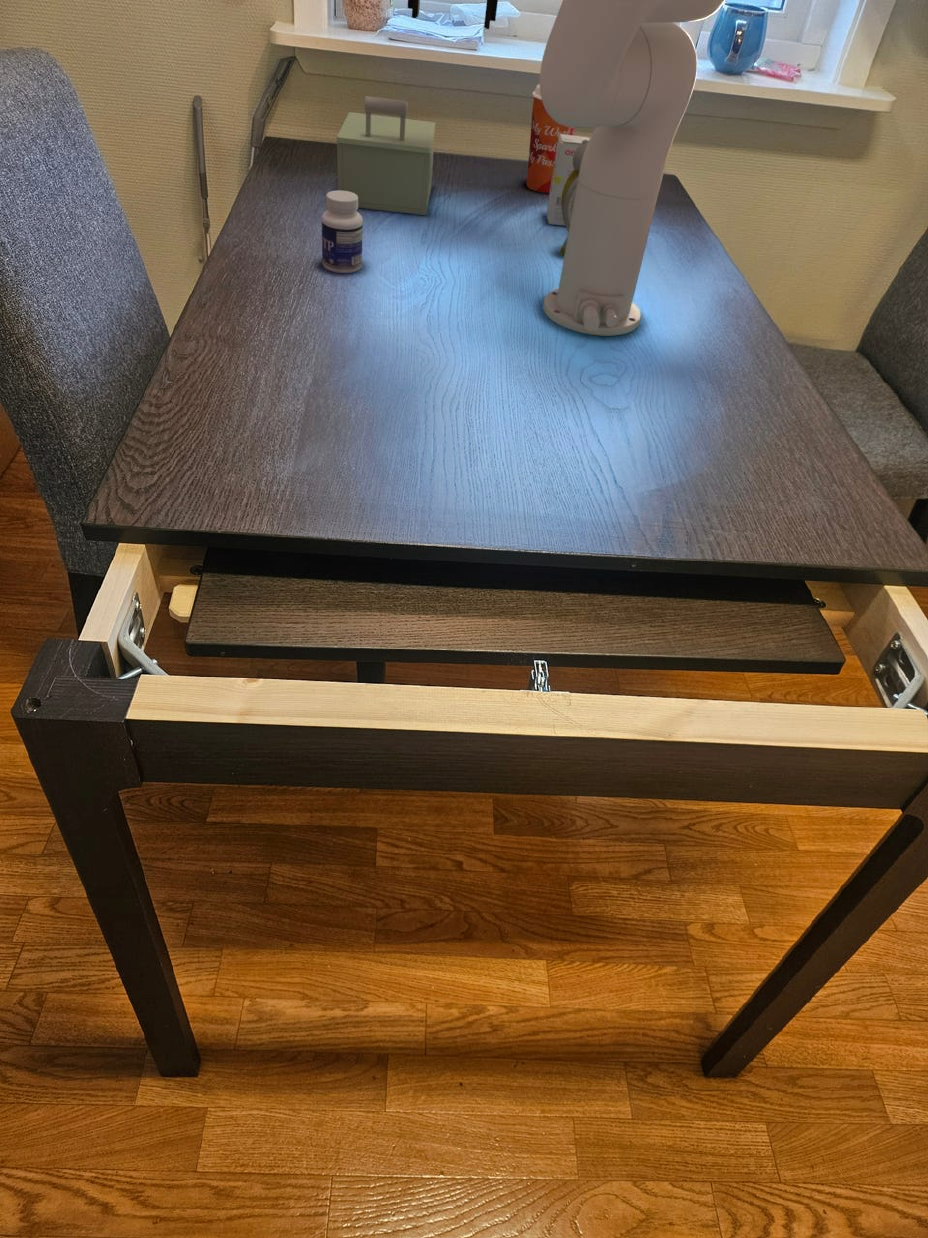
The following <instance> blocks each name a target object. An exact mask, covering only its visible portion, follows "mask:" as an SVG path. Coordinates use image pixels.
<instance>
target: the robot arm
mask: <svg viewBox="0 0 928 1238" xmlns="http://www.w3.org/2000/svg"><path fill="white" fill-rule="evenodd" d="M725 2H726V0H562V2H561V4H560V7H559V9H558V12H557V15H556V17H555V20H554V22H553V25H552V28H551V31H550V33H549V36H548V38H547V42H546V45H545V48H544V51H543V55H542V60H541V64H540V72H539V83H540V93H541V99H542V102H543V105H544V108H545V110H546V112H547V113H548V114H549V116H550V117H551V118H552V119H553V120H554V121H556V122H557V123H559V124H561V125H563V126H566V127H571V128H575V129H588V128H589V129H590V128H594V131H593V132H592V134H591V136H590V137H589V138H590V140H589V142H588V144H587V147H586V149H585V152H584V155H583V158H582V162H581V166H580V171H579V176H578V182H577V188H576V193H575V199H574V205H573V210H572V216H571V221H570V227H569V232H568V234H567V237H568V238H567V237H566V238H567V244H566V250H565V253H564V254H563V255H564V256H563V261H562V267H561V273H560V278H559V284H558V288H556V289H553V290H551V291H550V292H548V293H547V294H546V295H545V296H544V299H543V306H542V308H543V312H544V313H545V315H546V316H547V318H549V320H551V321H552V322H554V323H555V324H557V325H559V326H561V327H563V328H565V329H568V330H570V331H573V332H577V333H581V334H584V335H585V334H586V335H590V336H599V337H600V336H601V337H613V336H621V335H625V334H628V333H631V332H633V331H634V330H636V329H637V328H638V327H639V326H640V325H641V324H640V323H641V319H642V311H641V309H640V308H639V306H637V304H636V303H635V302H633V301H634V296H635V294H636V293H635V292H636V288H637V286H638V285H637V284H638V281H639V275H640V272H641V267H642V263H643V259H644V254H645V252H646V247H647V242H648V238H649V235H650V230H651V226H652V222H653V218H654V213H655V209H656V205H657V202H658V197H659V193H660V189H661V185H662V182H663V177H664V173H665V169H666V166H667V161H668V159H669V155H670V151H671V149H672V145H673V143H674V141H675V140H674V139H675V136H676V134H677V131H678V129H679V127H680V124H681V121H682V119H683V117H684V115H685V112H686V111H687V107H688V105H689V103H690V100H691V98H692V94H693V91H694V88H695V85H696V79H697V76H698V75H697V73H698V55H697V49H696V47H695V44H694V42H693V40H692V38H691V36H690V34H689V33H688V32H687V31H686V30H685V29H684V28H683V27H682V26H680V25H678V24H677V23H691V22H698V21H702V20H705V19H707V18H709V17H711V16H713V15H715V14H716V12H718V10H720V8H721V7H722V6H723V4H724V3H725ZM498 3H499V0H486V5H485V15H484V25H483V27H484V28H485V30H490V26H491V22H496V19H497V10H498ZM420 5H421V0H407V9H409V10H411V19H417V18H418V17H419V16H420V7H421V6H420Z"/></svg>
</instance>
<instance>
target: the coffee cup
mask: <svg viewBox="0 0 928 1238" xmlns="http://www.w3.org/2000/svg"><path fill="white" fill-rule="evenodd" d="M531 94H532V96H533V101H532V113H531V124H530V139H529V150H528V161H527V172H526V173H527V174H526V176H527V177H526V187H527V188H528V189H530V190H532V191H535V192H538V193H543V194H550V188H551V181H552V175H553V169H554V162H555V156H556V150H557V144H558V138H559V134H564V135H572V136H574V132H575V129H576V128H571V127H566V126H563V125H561V124H559V123H557V122H556V121H554V120H553V119H552V118H551V117H550V116H549V114H548V113H547V112H546V110H545V108H544V105H543V102H542V99H541V93H540V82H539V83H537V84H536V86H535V88H534V91H532V93H531Z"/></svg>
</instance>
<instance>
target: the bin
mask: <svg viewBox="0 0 928 1238" xmlns="http://www.w3.org/2000/svg"><path fill="white" fill-rule="evenodd" d="M435 132H436V129H435V130H434V135H433V140H432V145H431V150H430V154H428V153H420V152H411V151H403V150H394V149H386V148H377V147H369V146H360V145H352V144H343V143H337V142H336V143H337V144H336V150H337V152H336V154H337V155H336V156H337V157H336V158H337V159H336V162H337V165H336V166H337V170H336V172H337V175H336V176H337V177H336V179H337V180H336V182H337V183H336V184H337V189H336V191H338V190H340V191H349V192H352V193H354V194H356V195H357V196H358V209H366V210H376V211H382V212H383V211H384V212H392V213H402V214H410V215H419V216H427V213H428V212H427V211H428V208H429V201H430V195H431V189H432V179H433V165H434V164H433V163H434V150H435V149H434V148H435Z"/></svg>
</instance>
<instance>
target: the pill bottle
mask: <svg viewBox="0 0 928 1238" xmlns="http://www.w3.org/2000/svg"><path fill="white" fill-rule="evenodd" d="M325 200H326V203H325V204H326V208H327V209H326V210H325V211H323V213H322V215H321V261H322V266H323V267H324V268H325V270H328V271H330V272H333V273H337V274H351V273H356V272H358V271H360V270H361V268H362V266H363V234H364V233H363V231H364V230H363V229H364V227H363V226H364V225H363V224H364V223H363V221H364V220H363V217H362V215H361V214H360V213H359V212H358V209H359V208H358V196H357V195H356V194H354V193H352V192H349V191H340V190H338V191H337V190H332V191H327V193H326V199H325Z"/></svg>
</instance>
